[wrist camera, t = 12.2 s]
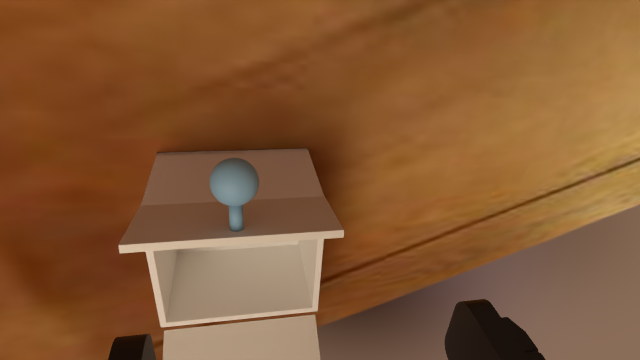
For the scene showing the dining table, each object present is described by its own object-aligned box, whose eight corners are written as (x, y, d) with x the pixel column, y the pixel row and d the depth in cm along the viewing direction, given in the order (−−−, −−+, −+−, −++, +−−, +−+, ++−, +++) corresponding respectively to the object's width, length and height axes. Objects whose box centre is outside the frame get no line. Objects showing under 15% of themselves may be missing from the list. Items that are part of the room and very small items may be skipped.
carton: (307, 148, 47) (326, 203, 38) (302, 244, 54) (317, 310, 45) (157, 152, 44) (138, 214, 34) (172, 254, 51) (160, 327, 42)
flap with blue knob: (324, 202, 37) (326, 137, 35) (344, 239, 30) (348, 161, 29) (141, 212, 34) (132, 142, 32) (118, 255, 27) (105, 170, 26)
